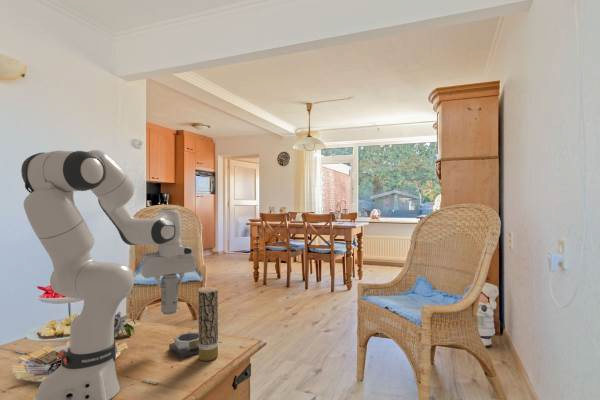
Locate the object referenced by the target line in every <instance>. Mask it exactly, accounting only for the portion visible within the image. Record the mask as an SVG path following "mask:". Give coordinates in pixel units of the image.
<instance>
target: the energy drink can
mask: <svg viewBox="0 0 600 400" xmlns="http://www.w3.org/2000/svg"><path fill="white" fill-rule="evenodd" d="M161 277H162V278H161V281H160V282H162V283H163V287H162V288H160V289H161V295H160V297H161V298H160V299H161V300H160V303H161V304H160V305H161V306H160V312H162V314H163V315H174V314H175V313H176V312H177V311H178V310H179V309H178V308H179V300H178V299H179V285H178V279H179V277H178V274H172V275H165V276H161Z"/></svg>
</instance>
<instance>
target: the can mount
mask: <svg viewBox="0 0 600 400" xmlns="http://www.w3.org/2000/svg"><path fill="white" fill-rule="evenodd" d="M168 347H169V349H168V350H169V351H170V352H172V353H173V354H174V355H175V356H176V357H177V358H179V359H180V360H182V359H185V358H189V357H192V356H196V355H199V331H198V332H197V331H196V332H195V331H191V332H190V331H187V332H184V333H179V334H178V335H177V336H175V338H174V342H173V343H169V346H168Z"/></svg>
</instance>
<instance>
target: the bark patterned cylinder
mask: <svg viewBox="0 0 600 400" xmlns="http://www.w3.org/2000/svg"><path fill="white" fill-rule="evenodd" d="M198 332H199V354H198V358H199V360H200V361H203V362H209V361H213V360H215V359H216V358H217V357H218V356H219V289H218V286H203V287H199V288H198Z"/></svg>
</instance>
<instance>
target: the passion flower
mask: <svg viewBox="0 0 600 400" xmlns="http://www.w3.org/2000/svg"><path fill="white" fill-rule="evenodd" d="M128 318H129V316H128V315H125V316H122V312H121V311H118V312H116V314H115V320H114V338H118V336H119V335H120V334H119V333H120V331H121V333H124V331H125V333H126V335H127V337H130V336H131V337H132V332H133V334H135V328H134V326H133V325H136V321H135V319H134V318H133V319H130V320H129V321H127V319H128ZM131 321H132V322H133V323H134V324H133V325H132V324H129V322H131ZM131 337H130V338H131Z"/></svg>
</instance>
